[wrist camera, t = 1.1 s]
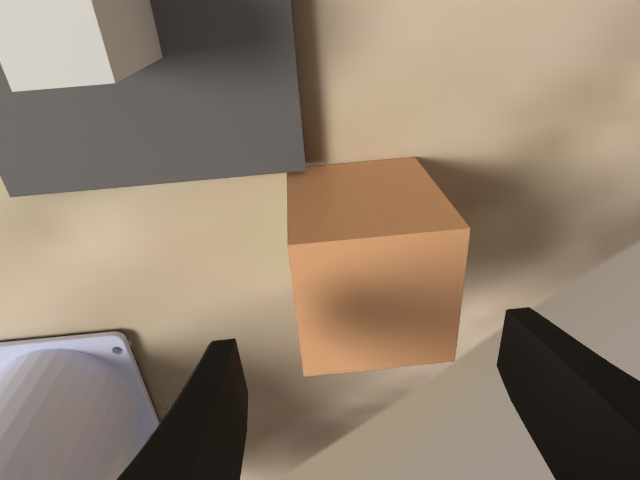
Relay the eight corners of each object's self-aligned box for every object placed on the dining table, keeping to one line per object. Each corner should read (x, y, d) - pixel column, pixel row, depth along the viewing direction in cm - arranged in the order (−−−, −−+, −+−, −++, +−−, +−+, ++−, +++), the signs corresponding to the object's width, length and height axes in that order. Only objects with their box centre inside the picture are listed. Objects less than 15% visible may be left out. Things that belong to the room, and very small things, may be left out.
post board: (304, 162, 19) (312, 227, 14) (23, 187, 18) (-80, 264, 13) (270, -227, 13) (259, -374, 8) (-148, -200, 13) (-454, -334, 7)
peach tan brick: (410, 264, 22) (454, 361, 16) (298, 275, 22) (303, 376, 16) (415, 157, 19) (470, 228, 13) (286, 168, 19) (287, 245, 13)
